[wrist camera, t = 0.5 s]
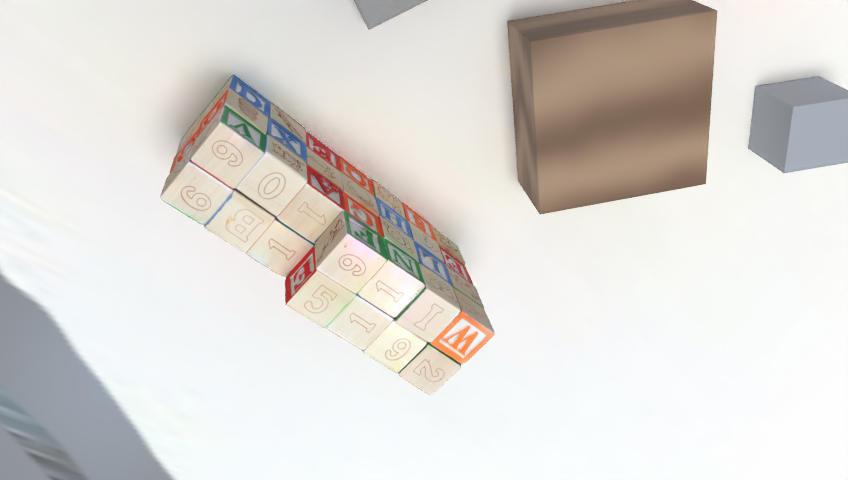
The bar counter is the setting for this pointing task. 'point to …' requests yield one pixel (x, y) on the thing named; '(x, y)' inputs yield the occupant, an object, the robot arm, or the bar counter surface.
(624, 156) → the walnut block
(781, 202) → the bar counter surface
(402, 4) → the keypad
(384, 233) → the stack of blocks
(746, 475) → the bar counter surface
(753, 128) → the grey cube
